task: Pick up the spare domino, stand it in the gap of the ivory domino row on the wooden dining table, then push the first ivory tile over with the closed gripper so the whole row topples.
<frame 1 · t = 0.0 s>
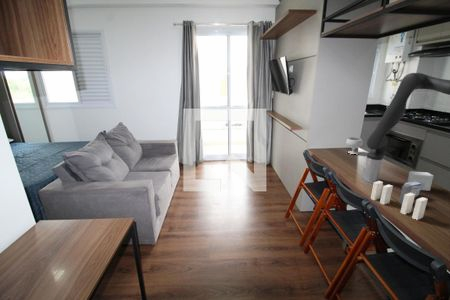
domino 1: (375, 198, 133), on the table
chalice: (352, 153, 215), on the table
spare domino: (403, 202, 128), on the table
domino 5: (417, 217, 113), on the table
domino 4: (405, 212, 118), on the table
medicine box: (409, 196, 135), on the table
domino 2: (384, 202, 128), on the table
skincare box: (417, 188, 144), on the table
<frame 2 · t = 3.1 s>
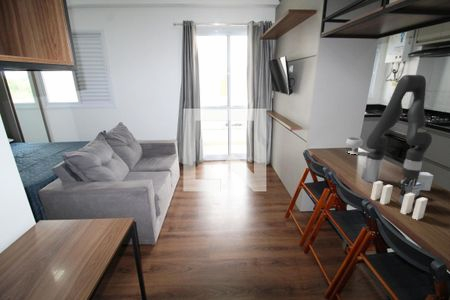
hand: (405, 194, 126), 5 cm above the table, fingers closed on spare domino, 5 cm apart
spare domino: (403, 202, 128), on the table, touching gripper
everything else where it was.
when the fingers open (6 cm above the table, at t = 10.5 s): spare domino stays where it is, on the table.
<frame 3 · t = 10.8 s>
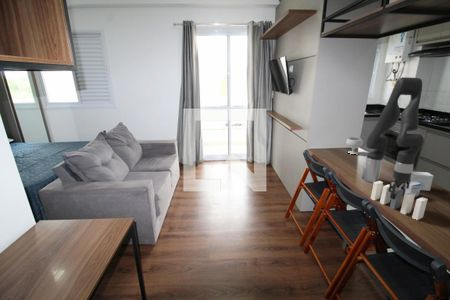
hand: (396, 197, 121), 7 cm above the table, fingers open, 7 cm apart
spare domino: (394, 207, 123), on the table
everything else where it was.
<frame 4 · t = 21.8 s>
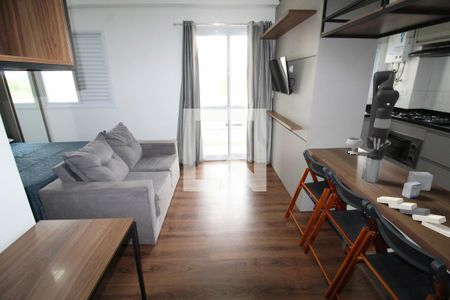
hand: (376, 155, 128), 27 cm above the table, fingers closed
domino 1: (379, 199, 130), point 1 cm above the table, tilted 69°, touching domino 2
spare domino: (402, 209, 119), point 1 cm above the table, tilted 68°, touching domino 2
domino 5: (424, 221, 109), point 1 cm above the table, tilted 90°, touching domino 4
domino 4: (415, 216, 113), point 1 cm above the table, tilted 68°, touching domino 5
domino 2: (391, 204, 124), point 1 cm above the table, tilted 68°, touching domino 1, spare domino
everything else where it was.
at the end: domino 5 tilted 90°; spare domino tilted 68°; spare domino inside the target area (1.1 cm from its centre), point 1.0 cm above the table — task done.
